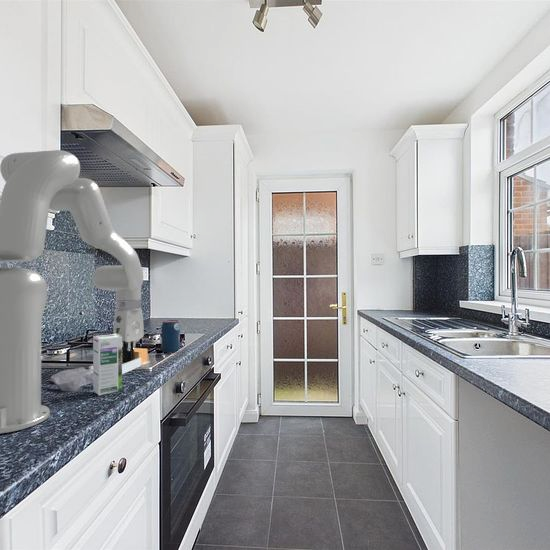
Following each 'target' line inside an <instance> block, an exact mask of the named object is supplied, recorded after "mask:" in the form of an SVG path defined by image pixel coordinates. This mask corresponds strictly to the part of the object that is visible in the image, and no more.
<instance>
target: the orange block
mask: <svg viewBox="0 0 550 550" xmlns="http://www.w3.org/2000/svg"><path fill="white" fill-rule="evenodd" d="M133 350H134V360H135V359H137V358H141V363H143V362H145V361H149V360H148V357H149V355H148V350H149V349H148V348H139V347H135V349H133Z"/></svg>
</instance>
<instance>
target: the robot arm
mask: <svg viewBox="0 0 550 550" xmlns="http://www.w3.org/2000/svg"><path fill="white" fill-rule="evenodd" d="M0 173H1V177H2V178H3V179H4V182H5V184H4V186H3V189H2V192H1V195H0V434H6V433H12V432H16V431H20V430H21V431H22V430H25V429H28V428H31V427H33V426H36V425H38V424H40V423H43V422H44V421H45V420H47V419H48V418H49V417H50V414H51V410H50V408H49V407H48V406H46V405H44V404H43V405H42V329H43V328H42V325H43V315H44V310H45V307H46V306H45V305H46V302H47V298H48V285H47V282H46V280H45V279H44V277H43V276H42V275H41V274H40V273H38V272H37V271H34V270H32V269H29V268H25V267H24V268H23V267H1V266H2V265H1V264H2V263H23V262H31V261H35V260H36V259H38V258H39V257H41V255H42V254H43V251H44V248H45V242H46V234H47V226H48V218H49V217H48V216H49V211H50V210H51V211H54V212H70V213H71V215H72V218H73V220H74V221H73V222H75V225H76V227H77V231H78V233H79V235H80V238H81V240H82V241H84V243H86V244H88V245H90V246H93V247H95V248H96V249H98V250H101V251H103V252H106V253H108V254H110V255H111V256H113V257H114V258H115V259H116V260H117V261H118V262H119V263H120V264H121V265H117V264H116V265H101V266H98V267H97V268H96V269H95V270H93V272H92V276H91V282H92V283H93V286H94V287H95V288H97V289H98V290H101V291H113V292H114V291H115V311H114V317H113V318H114V319H113V327H112V328H113V330H112V332H113V333H112V334H119V335H121V336H122V362H123V363H127V362H130V361H132V360H134V350H133V349H135V348H136V344H137V343H138V342H139V341H140V340H141V339H143V338H144V335H145V333H144V332H145V329H144V328H145V327H144V315H143V314H144V313H143V310H142V286H143V284H144V283H143V282H144V272H143V271H144V270H143V267H142V264H141V261H140V258H139V254H138V253H137V252H136V250H135V249H134V248H133V246H131V245H130V243H128V241H127V240H125V239H124V238H123V236H121V235H120V234H118V233H117V232H116V231H115V229H114V227H113V224H112V221H111V217H110V216H109V212H108V210H107V207H106V204H105V200H104V197H103V195H102V192H101V189H100V187H99V185H98V184H97V182H96V181H94V180H92V179H90V178H84V177H79V176H80V174H81V163H80V160H79V159H78V157H76V155H74V154H73V153H71V152H69V151H66V150H63V149H62V150H61V149H55V150H41V151H40V150H38V151H26V152H14V153H10V154H8V155H7V156H5V157H4V158H2V160H1V162H0Z"/></svg>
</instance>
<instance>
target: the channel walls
mask: <svg viewBox="0 0 550 550" xmlns="http://www.w3.org/2000/svg"><path fill="white" fill-rule="evenodd" d="M137 367H138V368H139V367H142V366H141V358H137V359H135V360H132V361H130V362H127V363H125V364H122V375H124V374H126V373H129V372H130V371H133V370H135V369H137ZM90 369H93V364H91V365H90V366H88V370H90Z"/></svg>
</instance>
